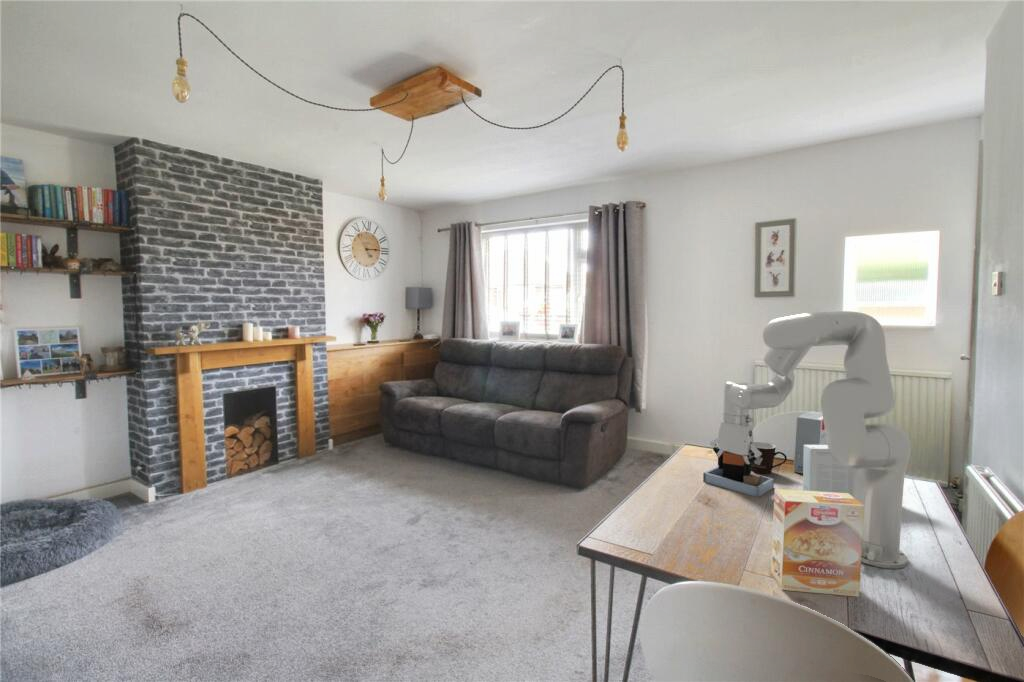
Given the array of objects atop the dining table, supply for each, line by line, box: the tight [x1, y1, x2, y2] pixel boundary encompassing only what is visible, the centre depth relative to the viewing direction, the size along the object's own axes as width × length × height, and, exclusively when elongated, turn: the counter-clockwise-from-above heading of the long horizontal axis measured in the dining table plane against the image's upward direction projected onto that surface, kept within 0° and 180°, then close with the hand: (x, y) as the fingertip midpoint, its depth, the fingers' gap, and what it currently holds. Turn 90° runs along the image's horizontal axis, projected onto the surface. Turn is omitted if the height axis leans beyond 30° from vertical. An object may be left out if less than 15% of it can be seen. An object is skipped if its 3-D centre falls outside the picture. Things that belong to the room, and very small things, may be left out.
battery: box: [722, 451, 746, 483], centre depth 159 cm, size 4×7×10 cm, turn 63°
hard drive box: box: [793, 410, 827, 474], centre depth 173 cm, size 16×8×20 cm, turn 132°
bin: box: [702, 465, 775, 498], centre depth 159 cm, size 12×18×4 cm, turn 40°
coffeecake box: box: [770, 488, 864, 598], centre depth 103 cm, size 15×7×20 cm, turn 80°
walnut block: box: [743, 473, 763, 487], centre depth 155 cm, size 4×4×4 cm
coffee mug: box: [750, 440, 788, 475], centre depth 169 cm, size 12×9×10 cm
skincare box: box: [802, 445, 855, 496], centre depth 149 cm, size 21×6×16 cm, turn 84°
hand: (734, 471), depth 159 cm, fingers closed on battery, 7 cm apart
